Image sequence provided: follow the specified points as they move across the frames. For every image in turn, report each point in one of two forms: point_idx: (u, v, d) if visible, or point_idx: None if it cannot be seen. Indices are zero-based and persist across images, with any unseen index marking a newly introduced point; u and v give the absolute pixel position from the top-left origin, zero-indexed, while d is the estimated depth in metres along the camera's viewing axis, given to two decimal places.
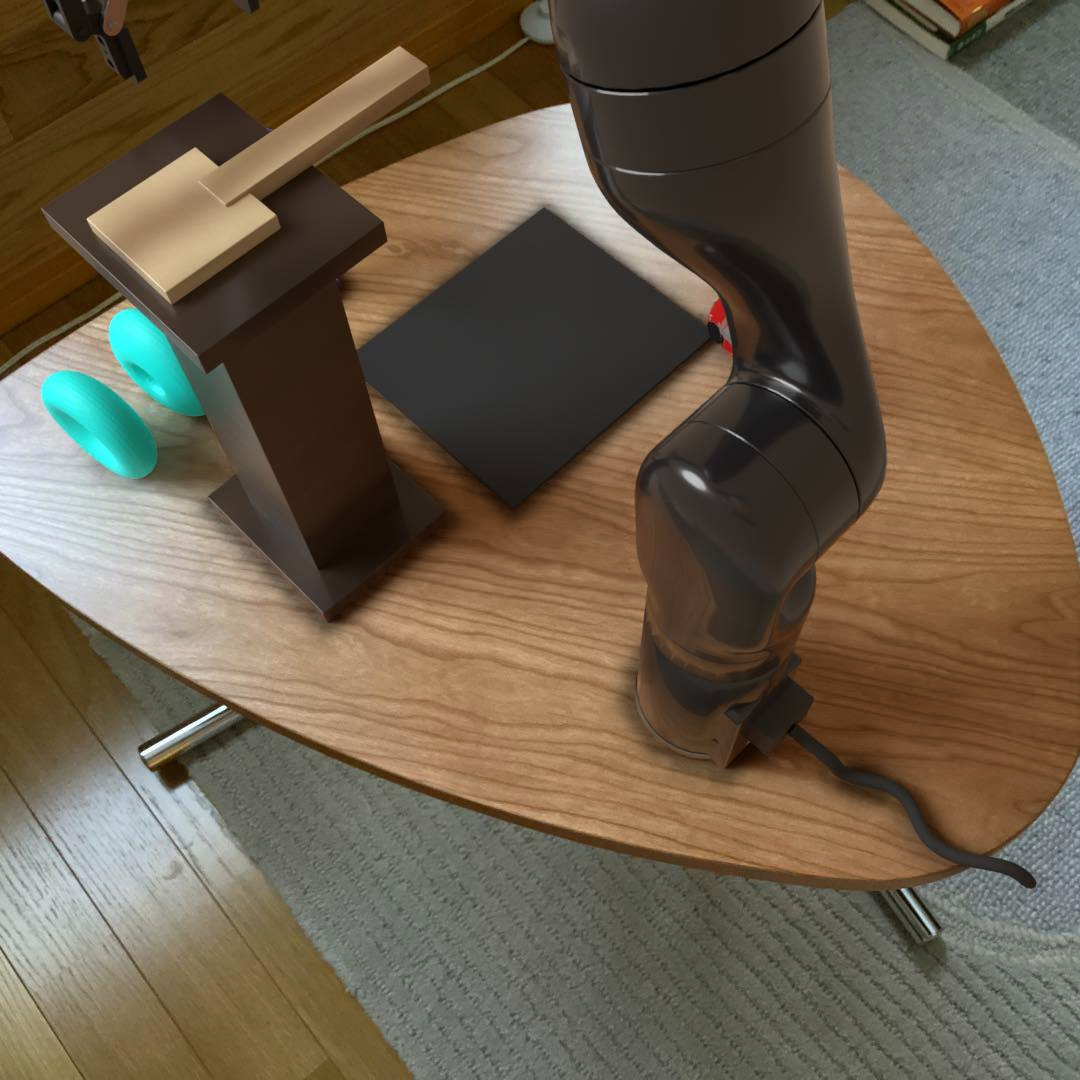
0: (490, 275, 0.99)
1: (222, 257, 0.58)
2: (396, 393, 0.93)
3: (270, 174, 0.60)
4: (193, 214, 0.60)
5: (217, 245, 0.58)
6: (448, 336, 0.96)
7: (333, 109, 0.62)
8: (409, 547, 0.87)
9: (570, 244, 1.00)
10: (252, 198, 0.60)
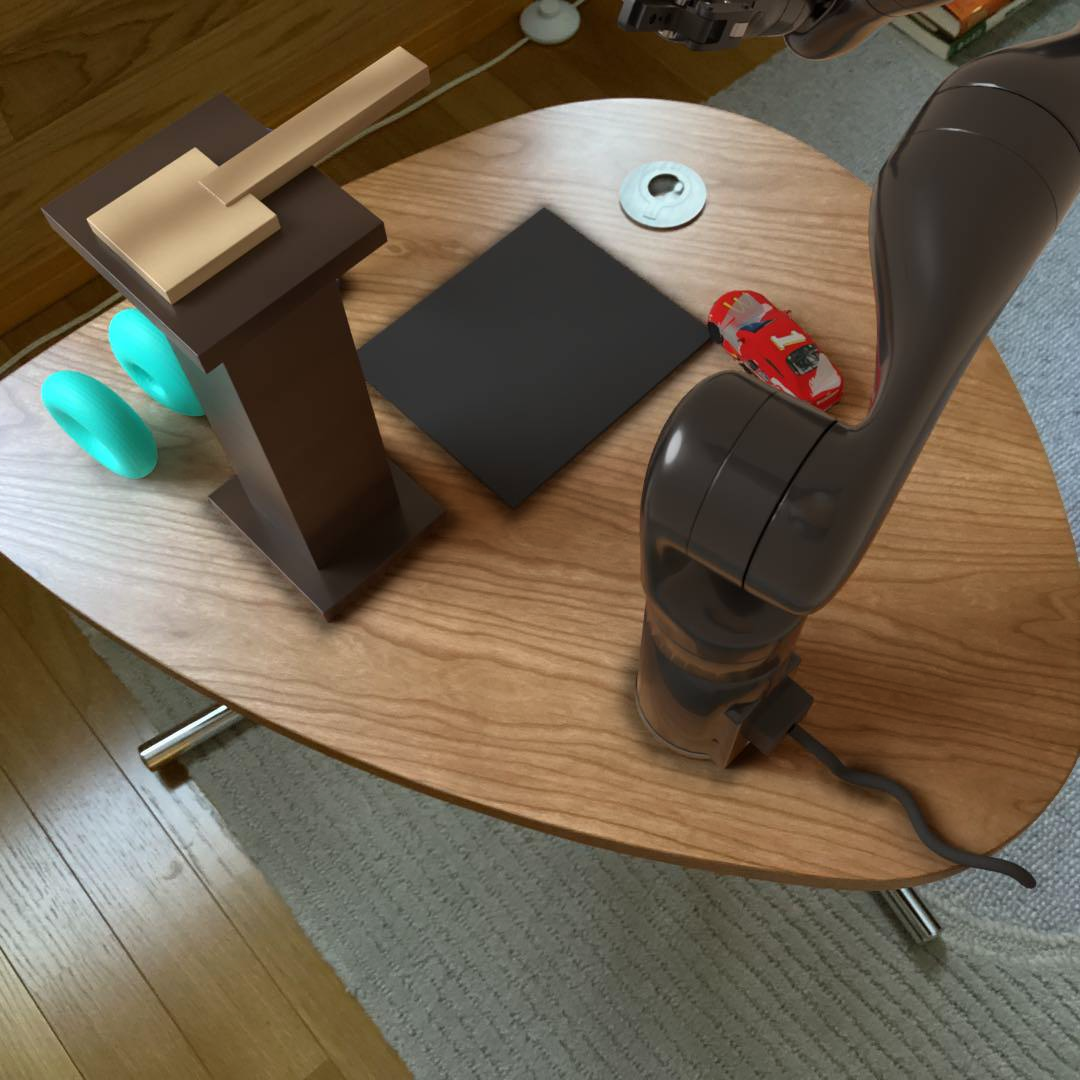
0: (490, 275, 0.99)
1: (222, 257, 0.58)
2: (396, 393, 0.93)
3: (270, 174, 0.60)
4: (193, 214, 0.60)
5: (217, 245, 0.58)
6: (448, 336, 0.96)
7: (333, 109, 0.62)
8: (409, 547, 0.87)
9: (570, 244, 1.00)
10: (252, 198, 0.60)
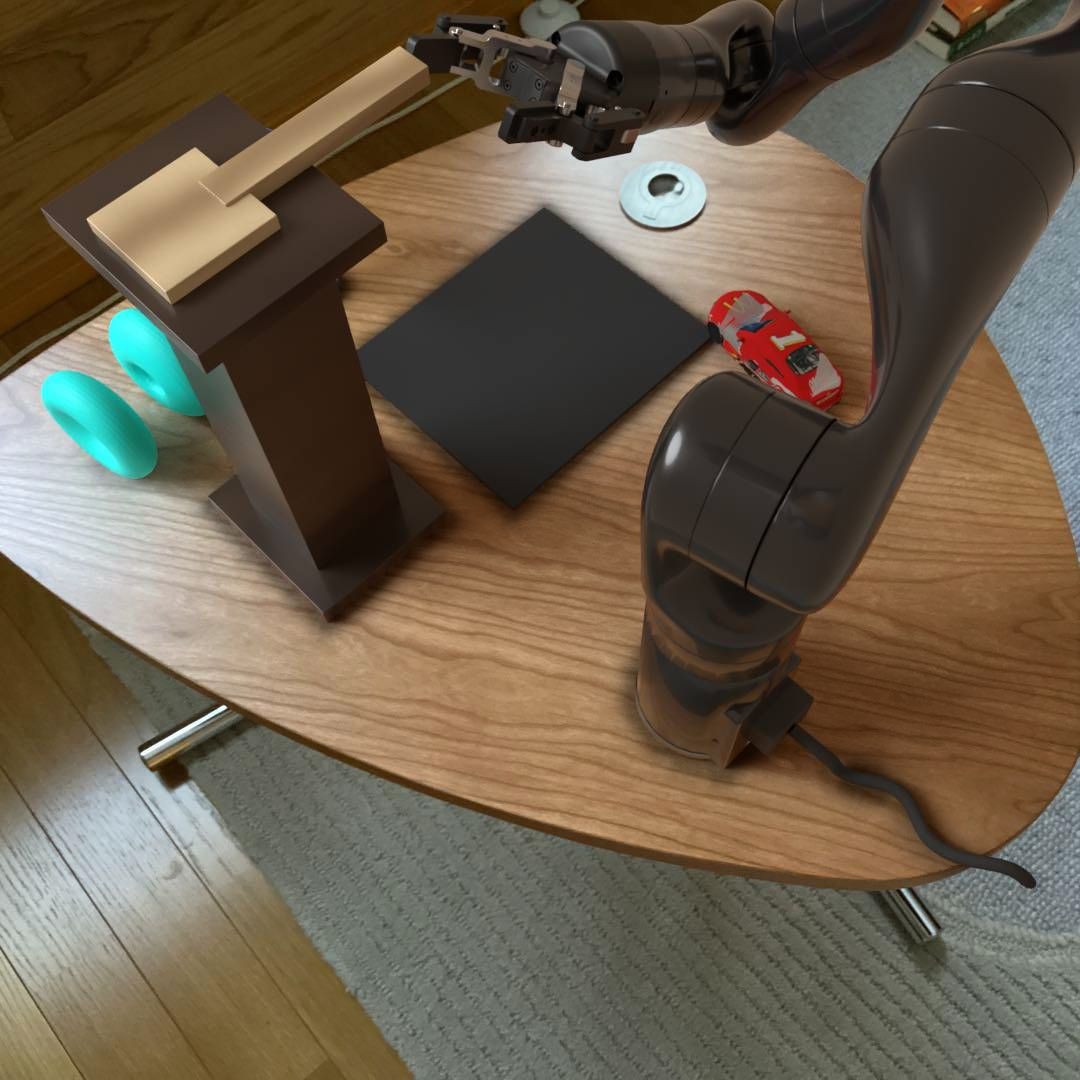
0: (490, 275, 0.99)
1: (222, 257, 0.58)
2: (396, 393, 0.93)
3: (270, 174, 0.60)
4: (193, 214, 0.60)
5: (217, 245, 0.58)
6: (448, 336, 0.96)
7: (333, 109, 0.62)
8: (409, 547, 0.87)
9: (570, 244, 1.00)
10: (252, 198, 0.60)
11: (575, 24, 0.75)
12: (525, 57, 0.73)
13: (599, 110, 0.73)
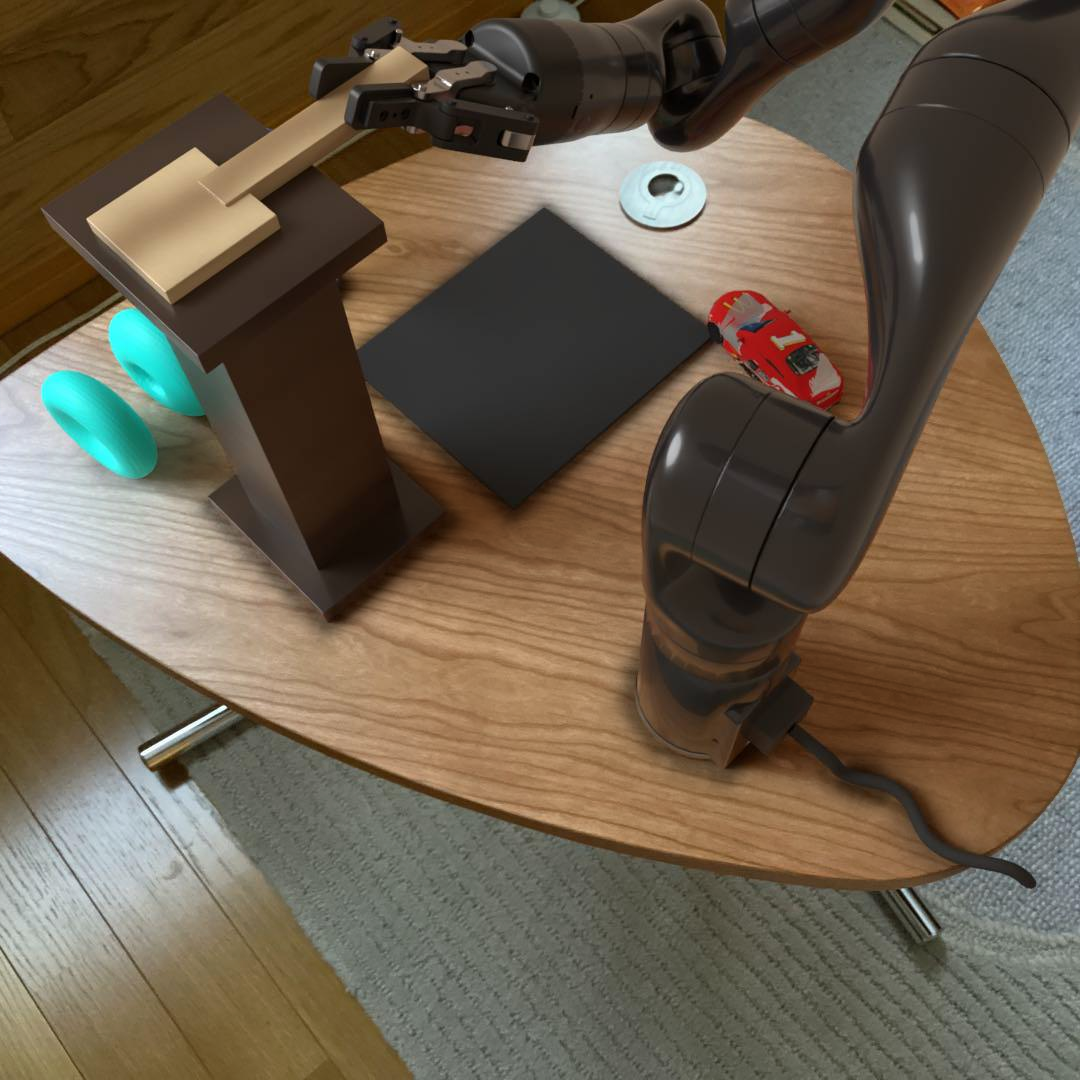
0: (490, 275, 0.99)
1: (221, 257, 0.58)
2: (396, 393, 0.93)
3: (270, 174, 0.60)
4: (193, 214, 0.60)
5: (217, 245, 0.58)
6: (448, 336, 0.96)
7: (333, 109, 0.62)
8: (409, 547, 0.87)
9: (570, 244, 1.00)
10: (252, 198, 0.60)
11: (489, 23, 0.69)
12: None
13: None
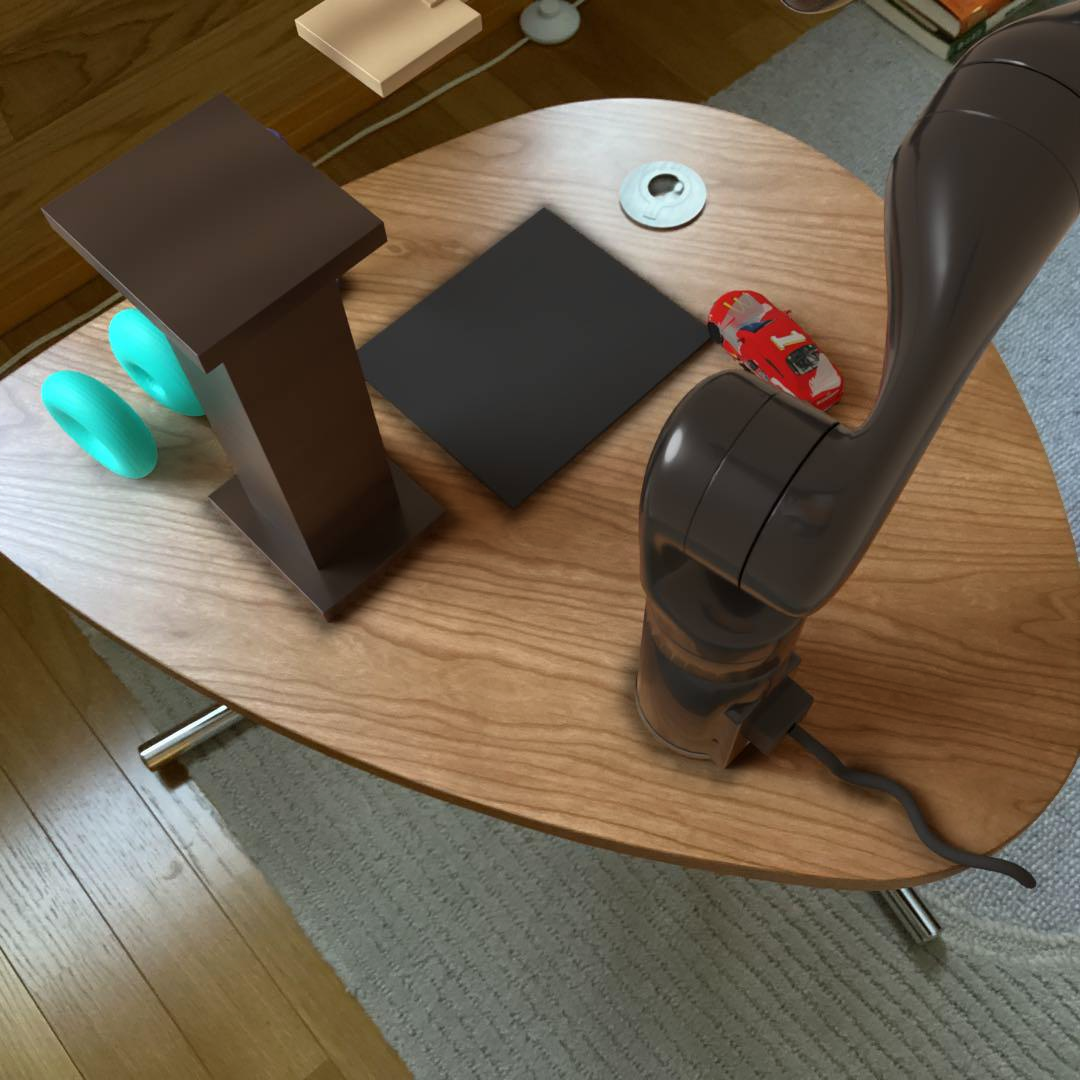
0: (490, 275, 0.99)
1: (430, 53, 0.60)
2: (396, 393, 0.93)
3: None
4: (399, 14, 0.61)
5: (426, 41, 0.60)
6: (448, 336, 0.96)
7: None
8: (409, 547, 0.87)
9: (570, 244, 1.00)
10: (455, 0, 0.61)
11: None
12: None
13: None
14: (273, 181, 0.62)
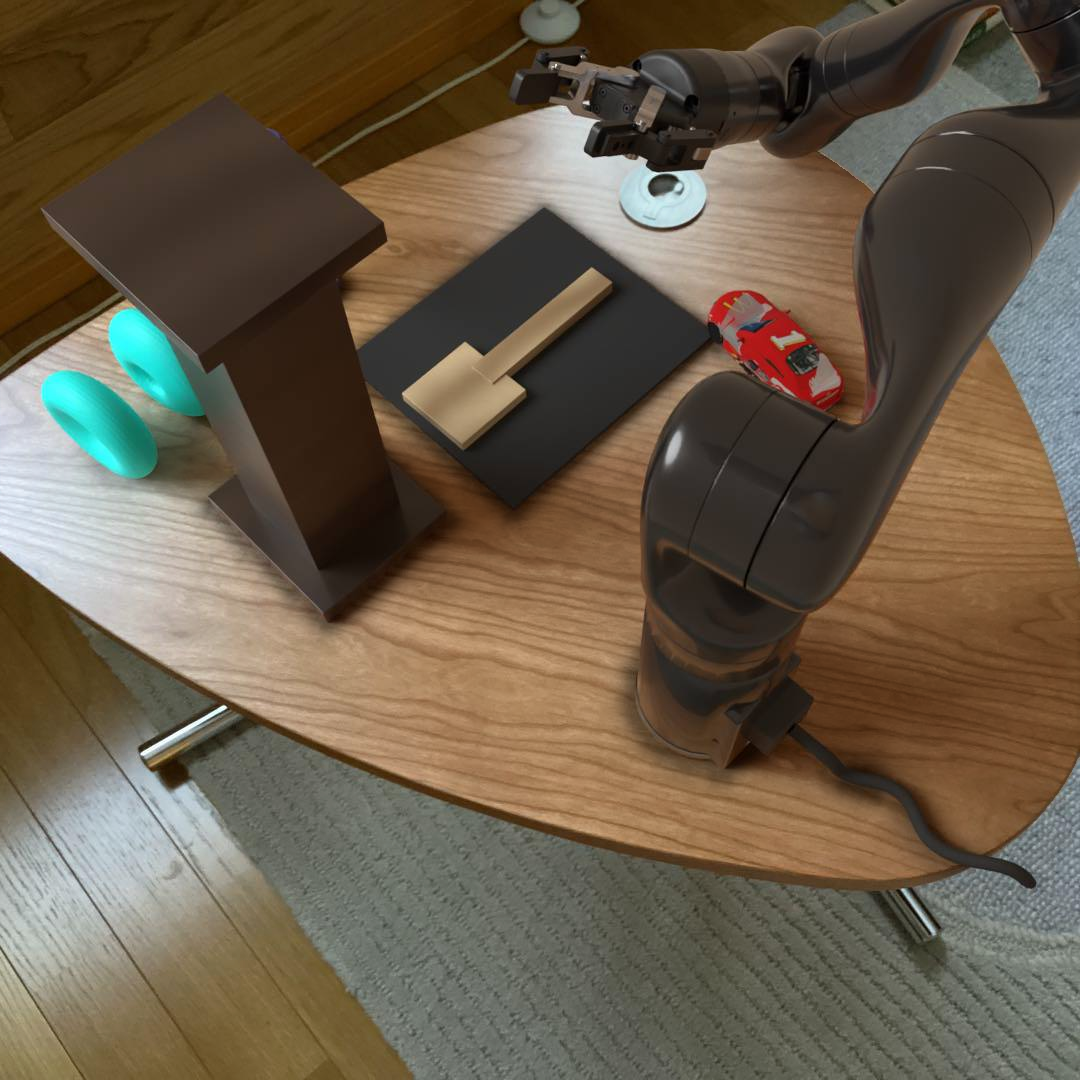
0: (490, 275, 0.99)
1: (493, 419, 0.91)
2: (396, 393, 0.93)
3: (518, 361, 0.93)
4: (471, 389, 0.92)
5: (490, 411, 0.91)
6: (448, 336, 0.96)
7: (553, 314, 0.95)
8: (409, 547, 0.87)
9: (570, 244, 1.00)
10: (508, 378, 0.93)
11: (655, 53, 0.84)
12: (613, 83, 0.82)
13: None
14: (273, 181, 0.62)
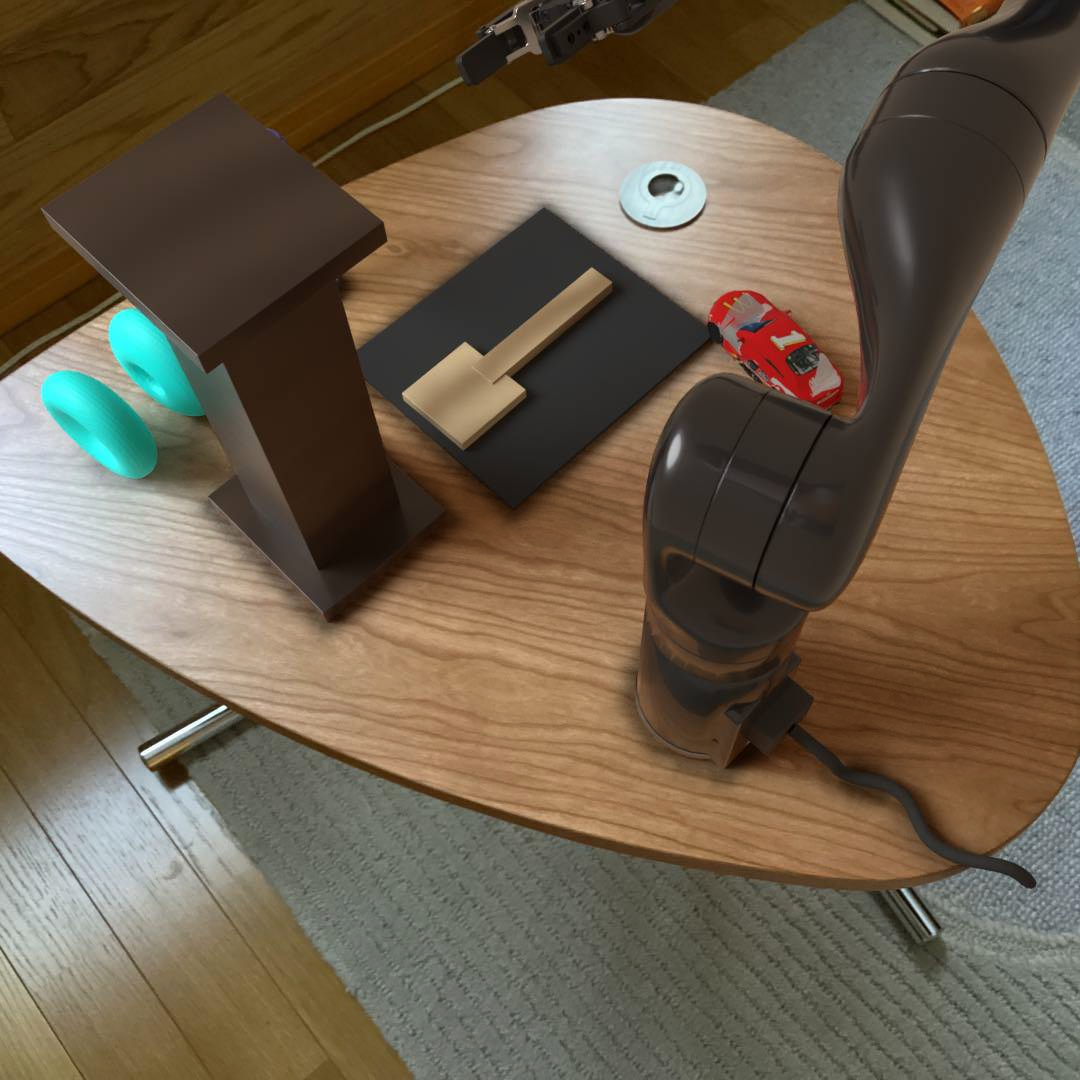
0: (490, 275, 0.99)
1: (493, 419, 0.91)
2: (396, 393, 0.93)
3: (518, 361, 0.93)
4: (471, 389, 0.92)
5: (490, 411, 0.91)
6: (448, 336, 0.96)
7: (553, 314, 0.95)
8: (409, 547, 0.87)
9: (570, 244, 1.00)
10: (508, 378, 0.93)
11: None
12: (550, 1, 0.80)
13: None
14: (273, 181, 0.62)
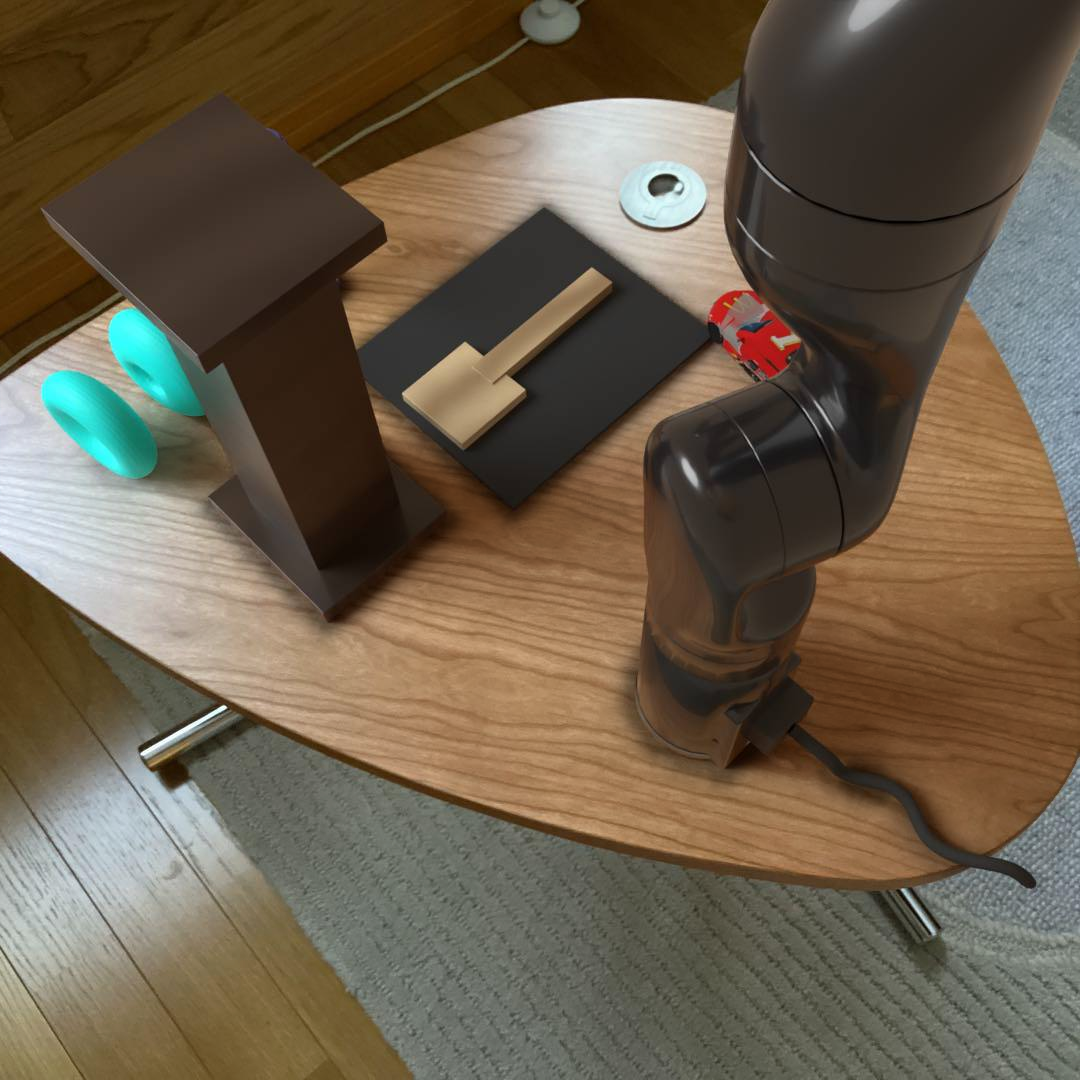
0: (490, 275, 0.99)
1: (493, 419, 0.91)
2: (396, 393, 0.93)
3: (518, 361, 0.93)
4: (471, 389, 0.92)
5: (490, 411, 0.91)
6: (448, 336, 0.96)
7: (553, 314, 0.95)
8: (409, 547, 0.87)
9: (570, 244, 1.00)
10: (508, 378, 0.93)
11: None
12: None
13: None
14: (273, 181, 0.62)
